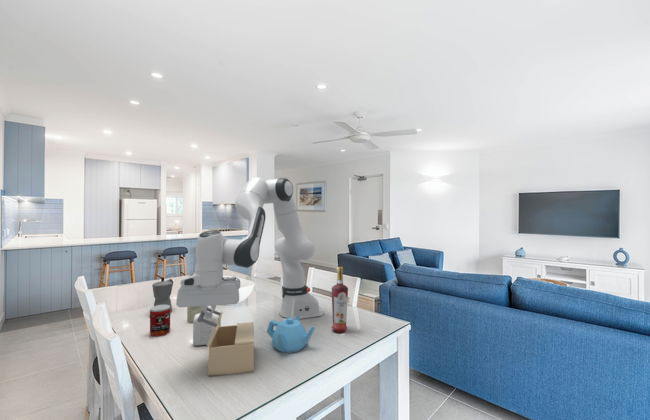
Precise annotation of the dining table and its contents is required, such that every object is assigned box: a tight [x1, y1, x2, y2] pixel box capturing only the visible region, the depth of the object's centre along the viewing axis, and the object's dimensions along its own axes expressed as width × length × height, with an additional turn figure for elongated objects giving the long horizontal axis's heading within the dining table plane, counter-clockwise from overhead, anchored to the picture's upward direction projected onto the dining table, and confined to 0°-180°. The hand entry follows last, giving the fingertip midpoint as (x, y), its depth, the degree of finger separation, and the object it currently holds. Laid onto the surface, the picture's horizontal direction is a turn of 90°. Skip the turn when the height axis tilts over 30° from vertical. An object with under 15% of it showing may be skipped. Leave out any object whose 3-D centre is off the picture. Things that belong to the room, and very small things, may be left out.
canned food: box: [149, 305, 171, 337], centre depth 129 cm, size 8×8×11 cm
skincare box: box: [186, 306, 202, 324], centre depth 143 cm, size 6×4×12 cm
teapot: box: [266, 316, 316, 354], centre depth 118 cm, size 15×15×11 cm
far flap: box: [197, 306, 224, 348], centre depth 104 cm, size 7×17×7 cm
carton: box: [208, 321, 255, 377], centre depth 106 cm, size 14×18×10 cm
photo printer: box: [192, 313, 222, 347], centre depth 119 cm, size 10×4×12 cm, turn 103°
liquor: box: [331, 266, 349, 334], centre depth 133 cm, size 7×7×28 cm
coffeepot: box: [151, 277, 174, 314], centre depth 154 cm, size 15×9×18 cm, turn 176°
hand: (208, 317), depth 104 cm, fingers closed
